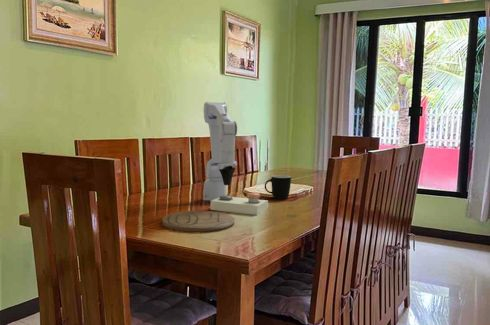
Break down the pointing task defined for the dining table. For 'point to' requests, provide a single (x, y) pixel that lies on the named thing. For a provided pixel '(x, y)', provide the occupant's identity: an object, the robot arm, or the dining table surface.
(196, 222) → the trivet
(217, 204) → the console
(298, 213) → the dining table surface
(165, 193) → the dining table surface
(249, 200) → the button
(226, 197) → the button
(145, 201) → the dining table surface
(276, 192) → the mug
